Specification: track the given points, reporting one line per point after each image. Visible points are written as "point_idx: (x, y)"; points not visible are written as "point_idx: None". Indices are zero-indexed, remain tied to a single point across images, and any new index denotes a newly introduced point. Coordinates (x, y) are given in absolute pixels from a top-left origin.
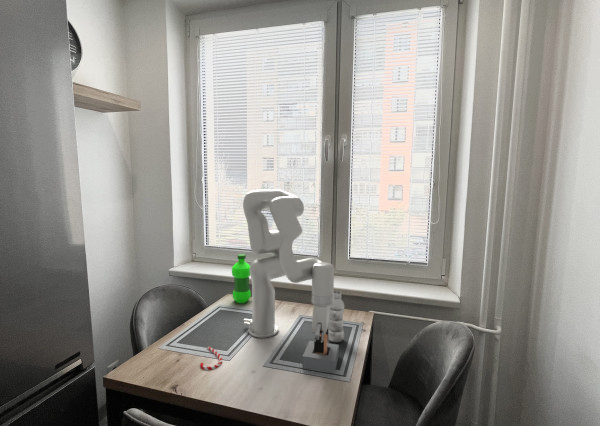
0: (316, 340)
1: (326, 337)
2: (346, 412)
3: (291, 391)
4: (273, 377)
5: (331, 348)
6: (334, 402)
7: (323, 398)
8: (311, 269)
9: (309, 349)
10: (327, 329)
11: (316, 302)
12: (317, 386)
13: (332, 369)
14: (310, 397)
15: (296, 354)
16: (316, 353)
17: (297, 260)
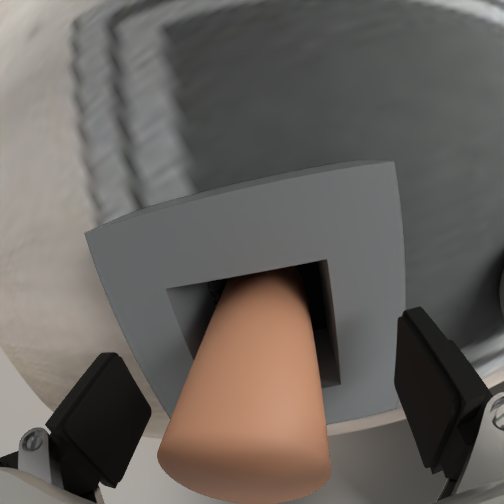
0: (17, 458)
1: (230, 498)
2: None
3: (8, 251)
4: (23, 127)
5: (326, 395)
6: (68, 392)
7: (55, 363)
8: None
9: (211, 240)
10: (432, 468)
11: None
12: (78, 334)
13: None
14: (31, 325)
15: (278, 82)
16: (218, 305)
17: None
